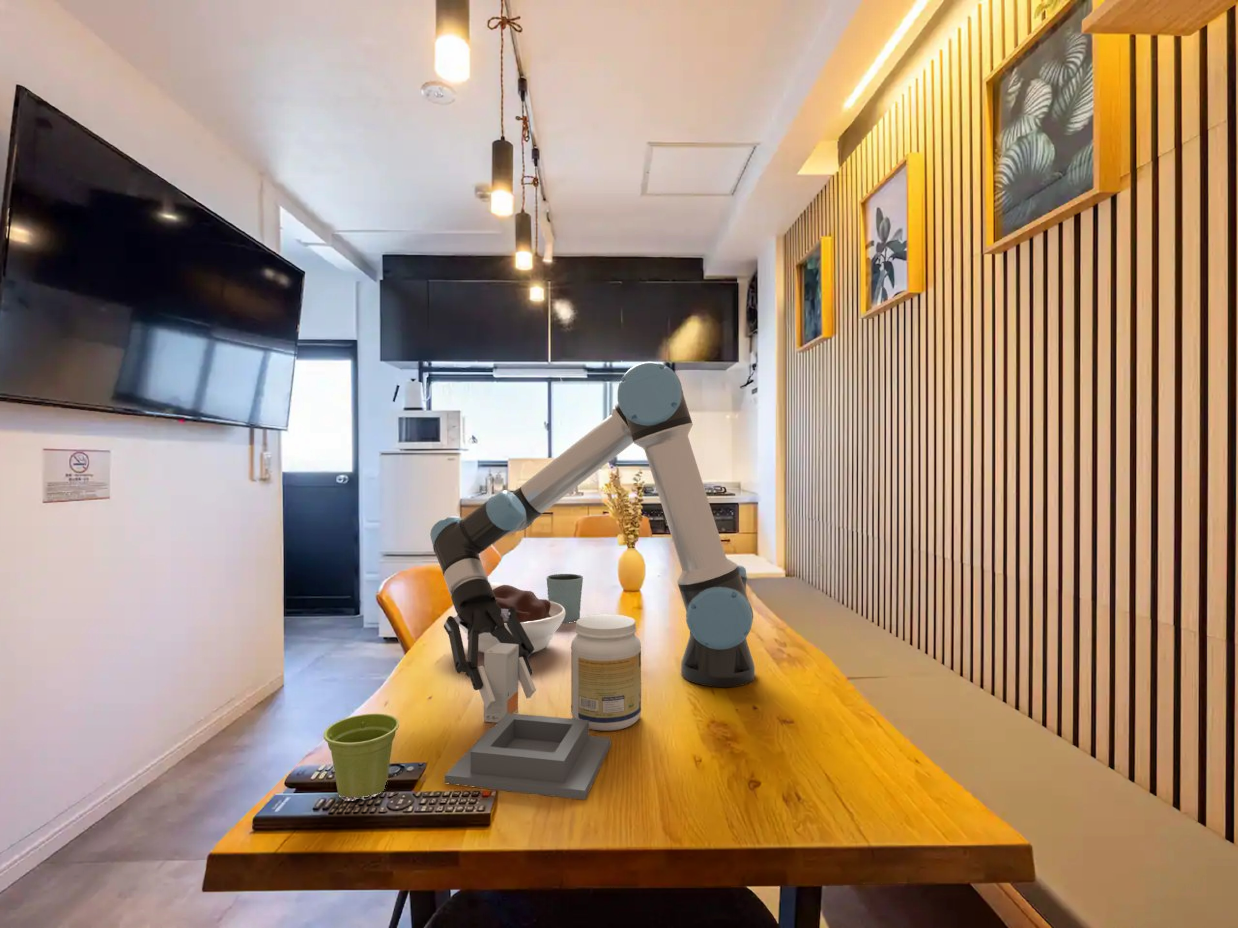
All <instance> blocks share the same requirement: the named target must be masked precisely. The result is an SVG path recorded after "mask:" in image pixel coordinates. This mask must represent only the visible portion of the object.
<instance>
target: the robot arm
mask: <svg viewBox="0 0 1238 928" xmlns="http://www.w3.org/2000/svg"><path fill="white" fill-rule="evenodd" d="M616 398H617V403H616V404H615V405H614V406H613V407H612V410H611V411H612V413H611V414H610V415H609V416H607V417H606V418H605V419H604V420H602V421H601V422H600V423H599V424H597V425H596V426H595V427H594V428H593V429H591V430H590V431H589V432H587V433H586V434H585V435H584V436H582V437H581V438H580V439H578V440H577V441H575V443H573V444H572V445H571V446H569V448H567V449H566V450H564V451H563V452H562V453H561V454H560V455H559V456H557V457H556V458H555V459H553V460H552V461H551V462H550V463H548V464H547V465H546V466H545V467H543V468H542V469H540V471H538V472H537V473H536V474H535V475H533V476H532V477H531V478H529V479H528V480H527V481H526V482H524V483H522V485H521V486H520V487H519V488H517V489H515V490H514V491H512V492H511V491H510V490H507V489H504V490H501V491H500V492H498V493H497V494H495V495H492V496H490V498H488V500H486V501H485V502H484V503H482V504H481V505H480V506H478V507H477V508H476V509H474V511H472V512H471V513H469V514H468V515H466V516H465V517H464V518H461V517H460V516H454V515H453V516H447V517H446V518H445V519H439V520H438V521H437V522H436V523H434V524H433V525H432V528H431V530H430V535H429V536H430V541H431V544H432V549H433V552H434V553H435V556H436V559H437V561H438V564H439V566H440V570H441V571H442V574H443V575H442V576H443V579H444V582H445V584H446V588H447V589H448V593H449V595H450V596H451V597H450V598H451V602H452V604H453V607H454V610H455V612H456V614H457V615H455V616H451V615H450V616H449V615H448V617H447V618H446V620H445V622H444V624H443V628H444V629H445V632H446V634H447V635H448V638H449V643H450V647H451V648H450V649H451V653H452V659H453V663H454V668H455V672H456V673H457V674H462V673H465V677H468V678H470V683H471V685H472V688H473V689H474V690H475V691H479V694H480V698H481V699H482V702H483V706H484V705H485V708H486V709H490V708H491V706H492V705H493V703H494V702H495V698H494V695H493V693H492V690H491V687H490V684H489V681H488V679H487V676H486V673H485V670H484V665H479V666H478V664H479V663H478V662H479V651H478V643H479V634H482V633H489V632H490V633H491V635H492V636H493V637H496V638H497V639H498V640H499V642H500V643H508V644H518V645H519V664H518V681H519V683H520V686H521V687H522V690H523V693H524V695H525V698H526V699H530V698H531V697H532V696H533V695H534V693H535V692H536V690H537V688H536V687H535V683H534V681H533V678H532V677H531V676H532V674H533V669H532V667H531V664H530V661H529V658H530V656H531V654H533V653H532V652H533V651H534V647H533V645H532V643H531V641H530V640H529V638H528V636H527V634H526V632H525V631H524V629H523V627H522V625H521V623H520V622H519V620H518V618H517V615H516V609H515V607H513V606H511V607H510V608H509V609H501V607H500V606H499V605H498V604H497V603H496V600H495V595H494V593H493V590H492V588H491V585H490V583H491V582H490V581H489V577H488V575H487V573H486V571H485V568H484V566H483V564H482V560H481V557H480V555H479V554H481V553H482V552H484V551H485V550H487V549H488V548H489V547H491V546H492V545H493V544H495V543H497V542H498V541H499V540H501V539H502V538H504V537H506V536H509V535H511V534H513V533H517V532H521V531H524V530H526V529H527V528H528V527H530V526H531V525H532V524H533V523H534V521H536V519H538V518H539V517H540V516H542V514H544V513H545V512H546V511H547V510H549V509H550V508H552V507H553V506H554V505H555V504H556V503H558V502H559V501H560V500H562V499H563V498H564V497H566V495H567V496H568V494H570V493H571V491H573V490H574V489H576V488H577V487H578V486H579V485H581V484H583V482H585V481H586V480H587V479H588V478H590V477H591V476H593V474H595V473H596V472H598V471H599V470H600V469H601V468H603V467H604V466H605V465H606V464H608V463H609V462H610V461H612V460H613V459H614V458H616V457H617V456H618V455H620V454H621V453H622V452H624V451H625V450H626V449H627V448H628V447H630V446H631V445H633V444H634V445H636V446H638V447H640V448H641V449H642V450H644V452H645V453H644V454H645V457H646V459H647V462H648V466H649V468H650V472H651V475H652V478H653V482H654V485H655V487H656V491H657V494H658V498H659V501H660V504H661V507H662V511H663V514H664V516H665V520H666V522H667V523H666V524H667V526H668V529H669V533H670V536H671V540H672V542H673V545H674V549H675V552H676V555H677V559H678V562H679V565H680V569H681V572H680V575H679V577H678V579H677V586H678V589H679V591H680V595H681V599H682V602H683V604H684V605H683V606H684V608H685V612H686V614H685V620H686V625H687V628H688V630H689V638H688V642H687V644H686V647H685V650H684V654H683V656H682V659H681V665H680V673H681V676H682V677H683V678H684V679H685V680H687V681H690V682H691V683H695V684H697V685H703V686H707V687H715V688H717V687H718V688H732V687H739V686H743V685H747V684H749V683H752V682H753V681H754V679H755V678H756V677H755V676H756V674H755V670H756V669H755V662H754V660H753V656H752V653H751V650H750V647H749V643H748V640H747V637H748V636H749V634H750V632H751V629H752V626H753V619H754V612H753V608H752V605H751V603H750V601H749V598H748V595H747V581H748V576H747V570H746V567H744V566H743V565H739V564H737V562H734V561H733V560H731V559H729V558H727V556H726V553H725V550H724V546H723V543H722V541H721V537H720V533H719V530H718V527H717V525H716V521H715V516H714V515H713V511H712V508H711V505H710V502H709V499H708V495H707V492H706V490H705V487H704V483H703V479H702V477H701V473H700V470H699V467H698V464H697V460H696V458H695V455H694V450H693V448H692V445H691V442H690V441H691V440H690V439H689V433H690V431H691V429H692V427H693V425H694V424H693V421H692V418H691V415H690V412H689V411H690V410H689V408H688V404H687V401H686V399H685V396H684V390H683V387H682V383H681V381H680V378H679V375H677V374H676V372H675V371H674V370H673V369H672V368H671V367H668V366H667V365H666V364H663V363H659V362H656V361H655V362H654V361H646V362H641V363H638V364H635V365H634V366H632V367H631V368H629V369H628V370H627V371H626V372H625V374H623V376H622V377H621V379H620V381H619V384H618V387H617V397H616ZM500 616H502V617H503V619H504V621H505V622H506V623H507V626H508V628H509V630H510V632H511V633H510V632H509V631H508V630H507V629H506V628H505V626H504V623H503V621H502V620H501V619H500ZM459 623H460V624H461V625H462V626H464V627H465V628H466V629H468V635H467V636H466V637H467V639H466V640H467V655H466V652H465V647H464V643H463V637H462V633H461V629H460V628H461V627H460V624H459ZM511 634H512V635H511Z"/></svg>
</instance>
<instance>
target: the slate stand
mask: <svg viewBox="0 0 1238 928" xmlns="http://www.w3.org/2000/svg"><path fill="white" fill-rule="evenodd" d="M589 731H590V729H589V720H581V719H574V718H568V717H557V716H556V717H555V716H545V715H532V714H523V713H522V714H520V713H515V714H512V713H507V714H506V715H505V716H504V717H503V718H502V719H501V720H500V721H499V722H498V723H495V725H494V726H490V727H489V728H488V729H487V730H486V731H485V732H484V733H483V734H482V735H481V737H480V738H479V739H478V740H477V741H476V742H475V743H474V744H473V745H471V747H470V748H469V749H468V750H467V751H466V752H465V753H464V754H463V755H462V756H461V757H460V759H458V761H456V763H455V764H454V765H453V766H452V767H451V768H449V770H448V771H447V772H446V773H445V774H444V784H445V783H449V784H448V785H451V784H459V785H458V786H460V785H467V786H466V787H469V786H474V787H473V788H477V787H482V788H481V789H486V788H488V789H487V790H495V789H498V790H497V791H506V792H515V793H523V794H531V795H541V796H547V797H548V796H549V797H559V798H567V799H576V800H582V801H584V800H586V798H587V797H588V794H589V792H590V791H591V788H592V786H593V783H594V782H595V780H596V778H597V775H598V774H599V771H600V769H601V767H602V764H603V762H604V761H605V759H606V757H607V755H608V753H609V750H610V748H611V745H612V744H611V742H612V740H611V739H612V737H607V736H606V737H605V736H597V735H595V736H594V735H589V733H590V732H589Z"/></svg>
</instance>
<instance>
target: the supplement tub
mask: <svg viewBox="0 0 1238 928" xmlns="http://www.w3.org/2000/svg"><path fill="white" fill-rule="evenodd" d="M575 623H576V625H575V627H576V628H575V630H574V631H575V633H576V635H575V636H573V639H572V640H571V646H570V650H571V651H570V656H571V659H570V661H571V662H570V664H571V665H570V666H571V667H570V668H571V671H570V674H571V677H570V678H571V680H570V681H571V682H570V683H571V687H570V690H571V695H570V696H571V698H570V699H571V701H570V702H571V703H570V704H571V706H570V707H571V708H570V710H571V716H572V719H581V720H589V730H593V731H608V732H609V731H611V732H612V731H618V730H622V729H623V730H624V729H625V728H628V727H631V726H632V725H634V724H635V723H636V722H637V721H638V720H639V718H640V716H641V712H642V646H641V644H642V643H641V640H640V639H639V637H638V635H636V634H635V633H636V632H637V627H636V620H635V619H634V618H633V617H630V616H628V615H622V614H614V613H613V614H612V613H604V614H603V613H601V614H600V613H599V614H590V615H586V616H583V617H580V619H578V620H577V622H575Z"/></svg>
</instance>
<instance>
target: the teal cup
mask: <svg viewBox="0 0 1238 928" xmlns="http://www.w3.org/2000/svg"><path fill="white" fill-rule="evenodd" d="M583 577H584V576H582V575H581V574H574V573H557V574H550V575H548V576H546V586H547V600H548V601H552V602H555V603H558V604H560V605H562V606H563V607H564V609H565V611H566V613H565V618H564V620H563V622H562V624H570V623H569V622H573V623H575V622H574V621H577V620H578V619H580V618H581V615H580V614H581V605H582V604H581V602H582V592H583V582H584V581H583V580H584V578H583Z"/></svg>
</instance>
